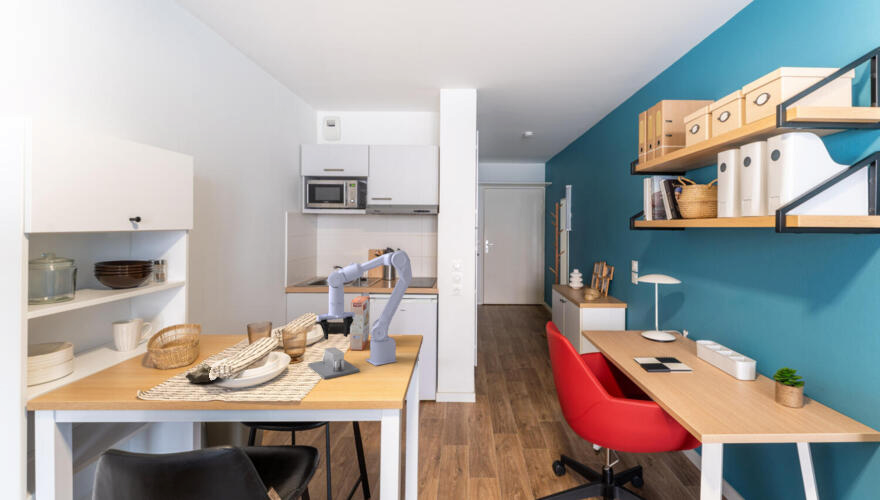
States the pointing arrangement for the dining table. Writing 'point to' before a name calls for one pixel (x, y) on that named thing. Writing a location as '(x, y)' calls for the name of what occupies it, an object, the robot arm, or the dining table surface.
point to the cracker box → (360, 323)
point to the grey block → (333, 357)
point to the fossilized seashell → (200, 374)
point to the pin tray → (328, 373)
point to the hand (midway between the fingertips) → (336, 337)
